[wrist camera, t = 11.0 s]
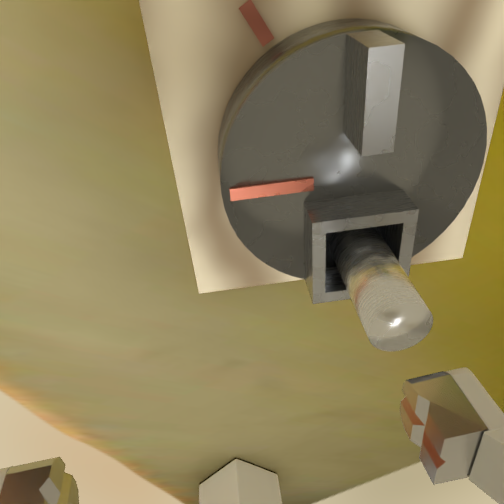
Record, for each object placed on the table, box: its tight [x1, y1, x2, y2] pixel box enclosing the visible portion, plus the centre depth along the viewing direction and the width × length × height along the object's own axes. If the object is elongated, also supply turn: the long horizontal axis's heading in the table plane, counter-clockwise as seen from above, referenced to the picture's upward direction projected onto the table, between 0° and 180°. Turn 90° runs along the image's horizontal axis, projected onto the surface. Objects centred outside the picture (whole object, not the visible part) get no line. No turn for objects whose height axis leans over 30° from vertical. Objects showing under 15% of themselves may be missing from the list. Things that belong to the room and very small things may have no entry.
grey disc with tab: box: [217, 18, 487, 304], centre depth 27 cm, size 16×16×8 cm
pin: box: [329, 227, 433, 351], centre depth 26 cm, size 3×3×8 cm
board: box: [139, 0, 504, 293], centre depth 31 cm, size 22×22×1 cm
